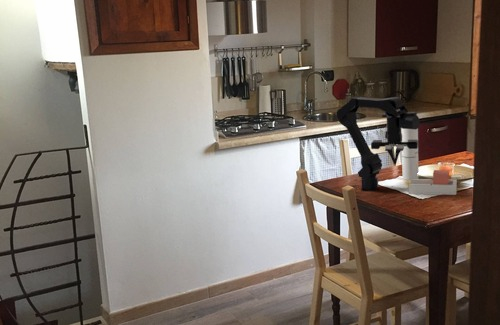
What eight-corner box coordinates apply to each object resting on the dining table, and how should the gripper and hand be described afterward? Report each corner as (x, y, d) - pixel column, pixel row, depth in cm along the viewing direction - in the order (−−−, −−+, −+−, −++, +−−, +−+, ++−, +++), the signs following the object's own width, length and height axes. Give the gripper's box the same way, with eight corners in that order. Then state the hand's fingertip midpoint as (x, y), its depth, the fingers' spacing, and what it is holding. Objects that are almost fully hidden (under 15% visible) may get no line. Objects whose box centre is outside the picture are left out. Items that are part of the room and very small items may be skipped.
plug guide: (408, 193, 221) (408, 184, 220) (410, 187, 229) (410, 178, 228) (456, 194, 214) (456, 185, 213) (456, 188, 222) (456, 179, 221)
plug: (433, 192, 219) (433, 173, 217) (434, 187, 224) (433, 169, 222) (448, 192, 216) (448, 174, 214) (448, 188, 222) (448, 170, 220)
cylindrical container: (421, 177, 242) (421, 124, 236) (411, 181, 238) (410, 127, 232) (409, 175, 247) (408, 123, 242) (399, 178, 244) (398, 126, 238)
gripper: (418, 123, 220) (419, 159, 224) (374, 124, 227) (375, 159, 230) (417, 128, 210) (417, 166, 214) (370, 129, 217) (371, 165, 220)
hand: (395, 164), depth 220 cm, fingers closed
